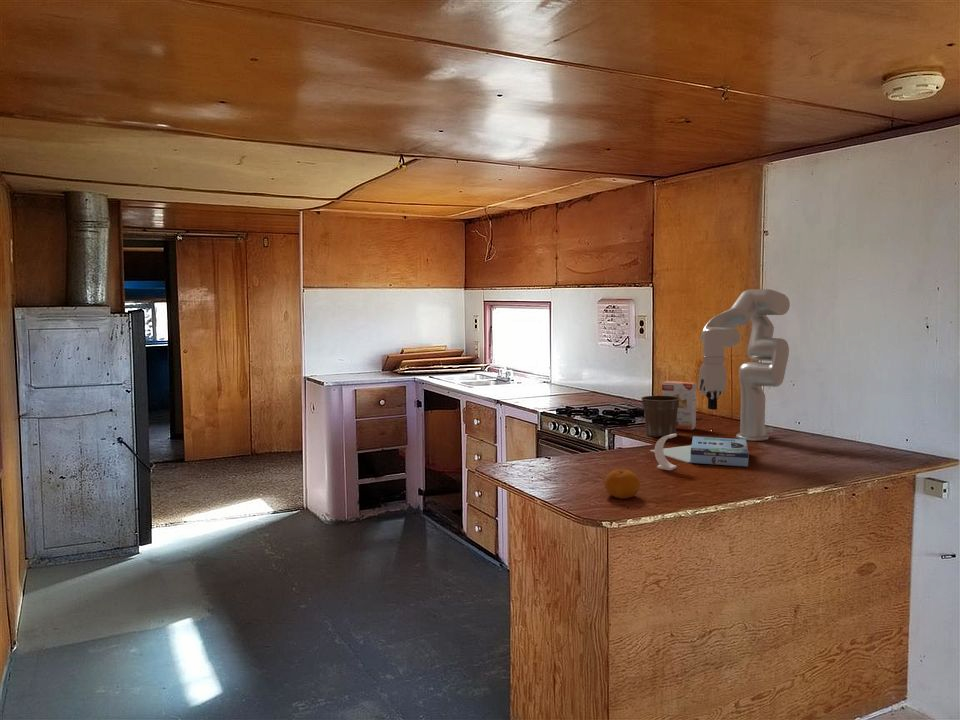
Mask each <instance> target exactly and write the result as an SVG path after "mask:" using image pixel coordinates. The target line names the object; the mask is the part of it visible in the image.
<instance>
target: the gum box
mask: <svg viewBox="0 0 960 720" xmlns="http://www.w3.org/2000/svg"><path fill="white" fill-rule="evenodd" d="M747 441H748V440H746V439H739V438H725V437H713V436H712V437H710V436H697V435H695V436H694V435H693V436H692V441H691V445H692V446H691V459H690V462H691V463H692V464H703V465H717V466H719V465H720V466H733V467H749V457H750V454H749V449H748V443H747ZM691 463H690V464H691Z"/></svg>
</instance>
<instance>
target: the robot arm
mask: <svg viewBox="0 0 960 720" xmlns="http://www.w3.org/2000/svg"><path fill="white" fill-rule="evenodd" d="M790 306H791V305H790V299H789V297H788V296H787V295H786V294H785V293H781V292H779V291H778V290H773V289H770V288H769V289H768V288H762V289H760V288H759V289H758V288H757V289H755V288H754V289H746V290H743V291H742V292H741V294H740V295H739V296H738V298H737V299H736V300H735V301H734V303H733V304H732V306H731V307H730V308H729V309H726V310H725V311H723V312H721V313H719V314H717V315H715V316H713V317H712V318H710V320H708V321H707V323H706V324H705V325H704V327H703V329H702V330H701V334H700V340H701V342H702V364H700V368H699V372H698V383H697V385H698V387H697V388H698V390H699V391H700V394H701V395H704V396H705V397H706V399H707V409H708V410H712V411H713V410H714V411H715V410H716V411H717V410H718V399H719V398H720V395H723V394H725V392H726V388H727V373H726V372H727V371H726V365H725V361H726V358H725V348H733V347H736V346H737V345H738V344H739V342H740V340H741V334H740V332H739V330H738V329H737V328H738V327H741V326H744V325H746V324H748V322H749V321H751V331H750V332H751V333H750V338H749V342H748V347H747V356H748V358H750V359H751V360H754V361H748V362H744V363H742V364H741V365H740V366H739V369H738V378H739V384H740V424H739V427H740V428H739V429H740V430H739V431H740V432H738V433H736V436H735V438H736V439H746V441H755V442H757V441H758V442H759V441H760V442H761V441H768V440H769V435H768V433H773V432H774V428H773V427H767V426H766V394H765V392H764V390H763V388H762V387H771V388H774V387H775V388H777V387H780V386H781V385H782V384H783V383H784V380H785V375H786V371H787V364H788V361H789V360H788V359H789V354H790V346H789V343H788V341H787V340H786V339H784V338H780V337H774V330H775V329H774V328H775V327H774V325H773V323H772V321H771V320H770V318H769V317H768V316H784V315H787V313H788V311H789V310H790V308H791V307H790ZM755 360H756V361H755ZM760 361H763V362H760Z"/></svg>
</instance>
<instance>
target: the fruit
mask: <svg viewBox="0 0 960 720" xmlns="http://www.w3.org/2000/svg"><path fill="white" fill-rule="evenodd" d="M640 486H641V483H640V479H639V478H638V475H636V474H635V472H633V471H631V470H630V469H622V468H619V469H613V470H611V471H610V472H609V473H608V474H607V475H606V477H605V479H604V489H605V491H606V493H608V494H609V495H610V496H612V497H614V498H617V499H620V500H621V499H622V500H623V499H630V498H633V497H635V496H636V495H637V494H638V493H639V490H640Z"/></svg>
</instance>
